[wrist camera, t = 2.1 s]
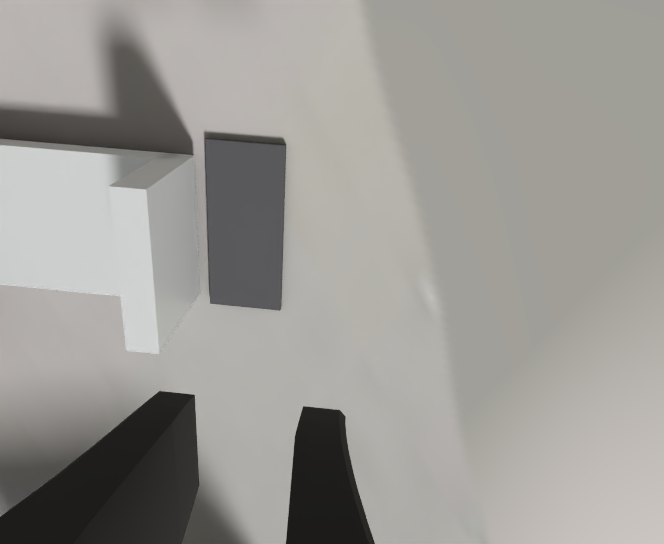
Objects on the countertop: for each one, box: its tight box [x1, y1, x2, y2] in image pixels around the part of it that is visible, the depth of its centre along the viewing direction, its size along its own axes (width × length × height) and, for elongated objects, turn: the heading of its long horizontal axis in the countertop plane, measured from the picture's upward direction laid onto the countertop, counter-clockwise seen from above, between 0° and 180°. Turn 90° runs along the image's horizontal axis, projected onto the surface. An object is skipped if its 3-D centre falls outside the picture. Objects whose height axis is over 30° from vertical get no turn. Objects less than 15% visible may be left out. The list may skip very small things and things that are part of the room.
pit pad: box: [205, 138, 286, 310], centre depth 19 cm, size 6×3×1 cm, turn 176°
